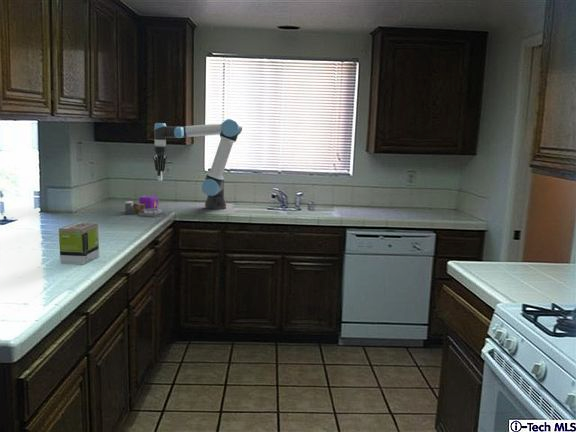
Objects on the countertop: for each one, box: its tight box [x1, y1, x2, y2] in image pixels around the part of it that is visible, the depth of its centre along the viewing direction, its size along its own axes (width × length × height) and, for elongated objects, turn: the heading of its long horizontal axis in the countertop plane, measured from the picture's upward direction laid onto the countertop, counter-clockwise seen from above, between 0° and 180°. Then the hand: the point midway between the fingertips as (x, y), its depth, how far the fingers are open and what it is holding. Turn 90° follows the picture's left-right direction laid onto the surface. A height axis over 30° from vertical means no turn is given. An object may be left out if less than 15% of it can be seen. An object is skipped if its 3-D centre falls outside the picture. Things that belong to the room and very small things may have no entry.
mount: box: [137, 208, 166, 218], centre depth 345 cm, size 12×12×4 cm
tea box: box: [58, 222, 100, 266], centre depth 223 cm, size 15×10×15 cm, turn 175°
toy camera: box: [138, 195, 159, 209], centre depth 365 cm, size 11×14×10 cm
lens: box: [124, 200, 134, 216], centre depth 345 cm, size 5×5×8 cm
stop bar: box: [133, 202, 145, 214], centre depth 352 cm, size 13×2×6 cm, turn 67°
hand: (160, 180), depth 373 cm, fingers closed
